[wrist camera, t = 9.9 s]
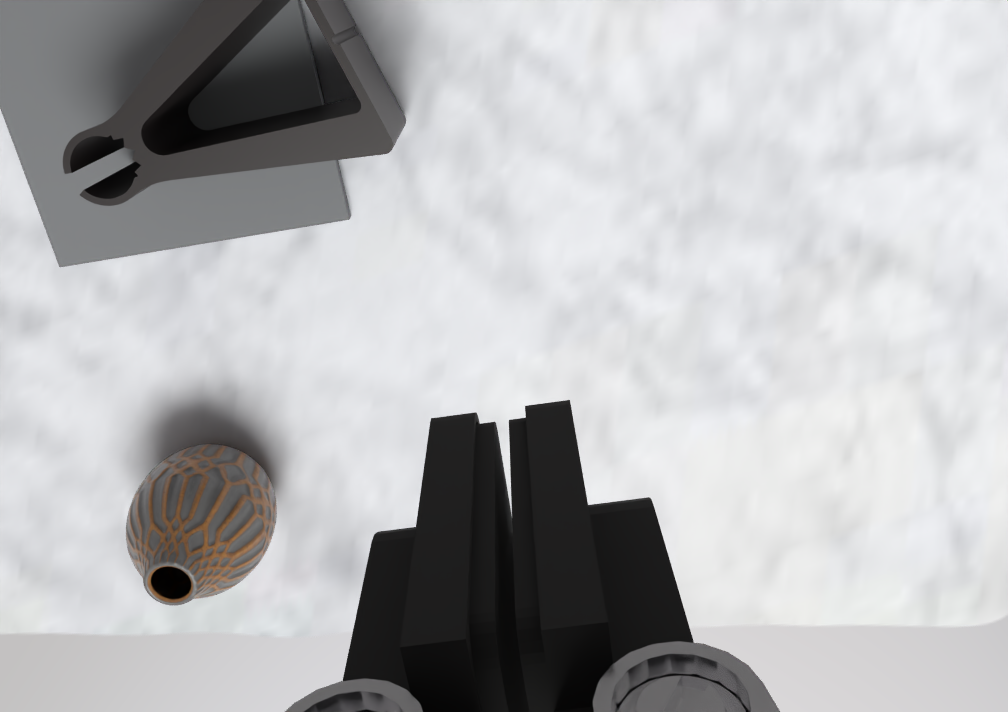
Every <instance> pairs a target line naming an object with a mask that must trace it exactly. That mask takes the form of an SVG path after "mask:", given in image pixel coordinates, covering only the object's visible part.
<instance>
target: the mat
mask: <svg viewBox="0 0 1008 712" xmlns="http://www.w3.org/2000/svg"><path fill="white" fill-rule="evenodd" d="M202 2H203V0H0V109H1V111H2V114H3V117H4V119H5V122H6V125H7V127H8V130H9V133H10V135H11V138H12V141H13V143H14V146H15V149H16V152H17V154H18V157H19V160H20V162H21V165H22V168H23V170H24V173H25V176H26V178H27V181H28V184H29V186H30V189H31V192H32V194H33V197H34V200H35V202H36V205H37V208H38V211H39V213H40V216H41V219H42V221H43V224H44V227H45V229H46V232H47V235H48V237H49V240H50V243H51V245H52V248H53V251H54V253H55V256H56V259H57V261H58V264H59V267H65V266H71V265H77V264H83V263H89V262H95V261H101V260H107V259H113V258H119V257H125V256H131V255H137V254H143V253H150V252H156V251H162V250H168V249H174V248H180V247H186V246H192V245H198V244H204V243H210V242H216V241H222V240H228V239H234V238H240V237H246V236H253V235H259V234H265V233H271V232H277V231H283V230H289V229H295V228H301V227H307V226H313V225H319V224H325V223H331V222H337V221H343V220H349V219H350V217H351V215H350V210H349V206H348V202H347V197H346V193H345V189H344V185H343V180H342V176H341V172H340V168H339V163H338V160H332V161H324V162H316V163H307V164H299V165H291V166H283V167H275V168H267V169H259V170H250V171H242V172H234V173H226V174H218V175H210V176H202V177H193V178H185V179H177V180H169V181H163V182H159V183H156V184H153V185H151V186H149V187H148V188H146V189H145V190H143V191H142V192H140V193H139V194H137V195H135V196H134V197H132V198H131V199H129V200H128V201H126V202H124V203H122V204H119V205H114V206H103V205H98V204H94V203H92V202H90V201H88V200H86V199H84V198H83V197H81V196H80V194H81V192H82V191H83V190H84V189H86V188H88V187H90V186H92V185H94V184H95V183H97V182H99V181H101V180H103V179H105V178H106V177H108V176H110V175H112V174H114V173H115V172H117V171H119V170H121V169H123V168H125V167H126V166H128V165H130V164H132V163H134V162H135V161H134V160H132V158H133V155H134V152H135V150H132V149H127V148H122V149H120V150H118V151H116V152H114V153H111V154H109V155H107V156H105V157H103V158H101V159H99V160H97V161H95V162H93V163H91V164H89V165H87V166H85V167H83V168H81V169H79V170H77V171H75V172H73V173H69V174H65V173H64V169H63V154H64V150H65V148H66V146H67V144H68V142H69V141H70V140H71V139H72V138H73V137H74V136H75V135H77V134H78V133H80V132H82V131H84V130H87V129H89V128H92V127H94V126H97V125H99V124H102V123H104V122H105V121H107V120H108V119H110V118H111V117H112V116H113V115H114V114H115V113H116V112H117V111H118V110H119V109H120V108H121V107H122V105H123V104H124V103H125V102H126V100H127V99H128V98H129V96H130V95H131V94H132V92H133V91H134V90H135V89H136V87H137V86H138V85H139V83H140V82H141V81H142V79H143V78H144V77H145V76H146V74H147V73H148V72H149V70H150V69H151V68H152V66H153V65H154V64H155V63H156V61H157V60H158V59H159V57H160V56H161V55H162V54H163V52H164V51H165V50H166V48H167V47H168V46H169V44H170V43H171V42H172V41H173V39H174V38H175V37H176V35H177V34H178V33H179V31H180V30H181V29H182V28H183V26H184V25H185V24H186V22H187V21H188V20H189V18H190V17H191V16H192V15H193V13H194V12H195V11H196V9H197V8H198V7H199V5H200V4H201V3H202ZM321 105H325V104H324V99H323V95H322V91H321V87H320V82H319V78H318V74H317V70H316V65H315V61H314V57H313V52H312V48H311V44H310V40H309V35H308V31H307V27H306V23H305V18H304V14H303V10H302V6H301V1H300V0H290V1H289V2H288V3H287V4H286V5H285V6H284V7H283V8H282V9H281V10H280V11H279V12H278V14H277V15H276V16H275V17H274V18H273V19H272V20H271V21H270V22H269V23H268V24H267V25H266V26H265V27H264V28H263V29H262V30H261V31H260V32H259V33H258V34H257V35H256V36H255V37H254V38H253V39H252V40H251V41H250V42H249V43H248V44H247V45H246V46H245V47H244V48H243V49H242V50H241V51H240V52H239V53H238V54H237V55H236V56H235V57H234V58H233V59H232V60H231V61H230V62H229V63H228V65H227V66H226V67H225V68H224V69H223V70H222V71H221V72H220V73H219V74H218V75H217V76H216V77H215V78H214V79H213V80H212V81H211V82H210V83H209V84H208V85H207V86H206V87H205V88H204V89H203V90H202V91H201V92H200V93H199V94H198V95H197V96H196V97H195V98H194V99H193V100H192V101H191V103H190V105H189V108H188V114H189V118H190V120H191V121H192V123H193V124H194V125H195V126H196V127H198V128H200V129H202V130H213V129H217V128H222V127H226V126H231V125H235V124H240V123H244V122H249V121H253V120H258V119H262V118H267V117H271V116H276V115H280V114H285V113H289V112H294V111H298V110H303V109H307V108H312V107H316V106H321Z"/></svg>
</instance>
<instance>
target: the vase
mask: <svg viewBox="0 0 1008 712" xmlns="http://www.w3.org/2000/svg"><path fill="white" fill-rule="evenodd" d="M276 514H277V511H276V499H275V494H274V490H273V487H272V484H271V482H270V480H269V478H268V476H267V474H266V473H265V471H264V470H263V468H262V467H261V466H260V465H259V464H258V463H257V462H256V461H255V460H254V459H252V458H251V457H250V456H248V455H247V454H245V453H243V452H241V451H239V450H237V449H234V448H231V447H228V446H224V445H217V444H204V445H197V446H193V447H189V448H186V449H183V450H181V451H179V452H177V453H175V454H173V455H171V456H169V457H168V458H166V459H165V460H163V461H162V462H161V463H159V464H158V465H157V466H156V467H155V468H154V469H153V470H152V471H151V472H150V473H149V475H148V476H147V477H146V478H145V480H144V481H143V482H142V484H141V485H140V487H139V488H138V490H137V492H136V493H135V495H134V498H133V500H132V503H131V506H130V509H129V513H128V517H127V525H126V541H127V548H128V552H129V555H130V557H131V560H132V562H133V564H134V566H135V567H136V569H137V571H138V572H139V573H140V575H141V576H142V577H143V583H144V586H145V589H146V591H147V592H148V594H149V595H150V596H151V597H152V598H154V599H155V600H156V601H158V602H160V603H163V604H167V605H181V604H185V603H187V602H189V601H191V600H192V599H196V598H204V597H209V596H213V595H217V594H219V593H222V592H224V591H226V590H228V589H230V588H232V587H233V586H235V585H236V584H238V583H239V582H240V581H242V580H243V579H244V578H245V577H246V576H247V575H248V574H249V573H250V572H251V571H252V570H253V569H254V568H255V567H256V566H257V565H258V563H259V562H260V560H261V559H262V557H263V556H264V554H265V553H266V551H267V548H268V546H269V544H270V542H271V539H272V535H273V532H274V528H275V523H276Z"/></svg>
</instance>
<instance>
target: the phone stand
mask: <svg viewBox="0 0 1008 712" xmlns="http://www.w3.org/2000/svg"><path fill="white" fill-rule="evenodd" d="M289 1H290V0H203V2H202V3H201V4H200V5H199V7H198V8H197V9H196V11H195V12H194V13H193V15H192V16H191V17H190V18H189V20H188V21H187V22H186V24H185V25H184V26H183V28H182V29H181V30H180V31H179V33H178V34H177V35H176V37H175V38H174V39H173V41H172V42H171V43H170V44H169V46H168V47H167V48H166V50H165V51H164V52H163V54H162V55H161V56H160V57H159V59H158V60H157V61H156V63H155V64H154V65H153V66H152V68H151V69H150V70H149V72H148V73H147V74H146V76H145V77H144V78H143V79H142V81H141V82H140V83H139V85H138V86H137V87H136V89H135V90H134V91H133V92H132V94H131V95H130V96H129V98H128V99H127V100H126V102H125V103H124V104H123V105H122V107H121V108H120V109H119V110H118V111H117V112H116V113H115V114H114V115H113V116H112V117H111V118H110V119H108V120H107V121H105V122H104V123H102V124H99V125H97V126H94V127H92V128H89V129H87V130H84V131H82V132H80V133H78V134H77V135H75V136H74V137H73V138H72V139H71V140H70V141H69V142H68V144H67V146H66V148H65V150H64V154H63V169H64V173H65V174H69V173H73V172H75V171H77V170H79V169H81V168H83V167H85V166H87V165H89V164H91V163H93V162H95V161H97V160H99V159H101V158H103V157H105V156H107V155H109V154H111V153H114V152H116V151H118V150H120V149H122V148H127V149H132V150H135V152H134V155H133V158H132V160H134V161H135V162H134V163H132V164H130V165H128V166H126V167H125V168H123V169H121V170H119V171H117V172H115V173H114V174H112V175H110V176H108V177H106V178H105V179H103V180H101V181H99V182H97V183H95V184H94V185H92V186H90V187H88V188H86V189H84V190H83V191H82V192H81V194H80V196H81V197H83V198H84V199H86V200H88V201H90V202H92V203H94V204H98V205H103V206H114V205H119V204H122V203H124V202H126V201H128V200H129V199H131V198H132V197H134V196H135V195H137V194H139V193H140V192H142V191H143V190H145V189H146V188H148V187H149V186H151V185H153V184H156V183H159V182H163V181H169V180H177V179H185V178H193V177H202V176H210V175H218V174H226V173H234V172H242V171H250V170H259V169H267V168H275V167H283V166H291V165H299V164H307V163H316V162H324V161H332V160H340V159H348V158H356V157H364V156H373V155H381V154H387V153H389V152H390V151H391V150H392V148H393V147H394V145H395V143H396V141H397V139H398V137H399V135H400V133H401V131H402V129H403V128H404V126H405V124H406V118H405V116H404V114H403V112H402V110H401V108H400V106H399V105H398V103H397V101H396V99H395V97H394V95H393V93H392V91H391V90H390V88H389V86H388V84H387V82H386V80H385V78H384V76H383V75H382V73H381V71H380V69H379V67H378V65H377V63H376V61H375V59H374V58H373V56H372V54H371V52H370V50H369V48H368V46H367V44H366V43H365V41H364V39H363V37H362V35H361V34H357V33H355V31H354V27H355V26H356V24H355V22H354V20H353V18H352V16H351V14H350V12H349V11H348V9H347V7H346V5H345V3H344V1H343V0H305V2H306V4H307V6H308V7H309V9H310V11H311V13H312V15H313V17H314V18H315V20H316V22H317V24H318V26H319V28H320V29H321V31H322V33H323V35H324V37H325V39H326V40H327V42H328V44H329V46H330V48H331V49H332V51H333V53H334V55H335V57H336V59H337V60H338V62H339V64H340V66H341V68H342V70H343V71H344V73H345V75H346V77H347V79H348V81H349V82H350V84H351V86H352V88H353V90H354V91H355V93H356V95H357V98H352V99H348V100H343V101H339V102H334V103H330V104H325V105H321V106H316V107H312V108H307V109H303V110H298V111H294V112H289V113H285V114H280V115H276V116H271V117H267V118H262V119H258V120H253V121H249V122H244V123H240V124H235V125H231V126H226V127H222V128H217V129H213V130H202V129H200V128H198V127H196V126H195V125H194V124H193V123H192V121H191V120H190V118H189V114H188V108H189V105H190V103H191V101H192V100H193V99H194V98H195V97H196V96H197V95H198V94H199V93H200V92H201V91H202V90H203V89H204V88H205V87H206V86H207V85H208V84H209V83H210V82H211V81H212V80H213V79H214V78H215V77H216V76H217V75H218V74H219V73H220V72H221V71H222V70H223V69H224V68H225V67H226V66H227V65H228V63H229V62H230V61H231V60H232V59H233V58H234V57H235V56H236V55H237V54H238V53H239V52H240V51H241V50H242V49H243V48H244V47H245V46H246V45H247V44H248V43H249V42H250V41H251V40H252V39H253V38H254V37H255V36H256V35H257V34H258V33H259V32H260V31H261V30H262V29H263V28H264V27H265V26H266V25H267V24H268V23H269V22H270V21H271V20H272V19H273V18H274V17H275V16H276V15H277V14H278V12H279V11H280V10H281V9H282V8H283V7H284V6H285V5H286V4H287V3H288V2H289Z"/></svg>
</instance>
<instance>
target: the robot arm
mask: <svg viewBox="0 0 1008 712" xmlns="http://www.w3.org/2000/svg"><path fill="white" fill-rule="evenodd" d="M525 411H526V418H521V419H513V420H509V436H510V466H511V496H512V516H511V510H510V504H509V498H508V492H507V486H506V479H505V473H504V467H503V461H502V455H501V449H500V443H499V437H498V431H497V427H496V423H495V422H490V423H483V424H480V423H479V419H478V415H477V413H469V414H461V415H454V416H446V417H439V418H431V422H430V429H429V436H428V443H427V451H426V458H425V465H424V473H423V480H422V487H421V495H420V502H419V509H418V517H417V524H416V527H413V528H405V529H397V530H389V531H381V532H377V533H376V534H374V537H373V540H372V544H371V548H370V553H369V558H368V563H367V567H366V572H365V577H364V582H363V587H362V591H361V596H360V601H359V606H358V610H357V615H356V620H355V625H354V629H353V634H352V639H351V644H350V649H349V653H348V658H347V663H346V668H345V672H344V677H343V681H341V682H338V683H335V684H332V685H329V686H327V687H324V688H321V689H318V690H316V691H314V692H312V693H311V694H309V695H307V696H306V697H304V698H302V699H301V700H299V701H297V702H296V703H294V704H293V705H292V706H291V707H290V708H288V709H287V711H285V712H780V711H779V709H778V708H777V706H776V704H775V702H774V701H773V699H772V697H771V696H770V694H769V692H768V690H767V689H766V687H765V685H764V684H763V682H762V681H761V680H760V679H759V678H758V676H757V675H756V674H755V673H754V672H753V670H752V669H751V668H750V667H749V666H748V665H747V664H745V663H744V662H742V661H741V660H739V659H738V658H736V657H734V656H733V655H731V654H730V653H728V652H726V651H723V650H720V649H717V648H714V647H711V646H708V645H705V644H700V643H694V642H693V638H692V635H691V632H690V628H689V625H688V621H687V618H686V615H685V611H684V608H683V604H682V601H681V598H680V594H679V591H678V587H677V584H676V580H675V577H674V574H673V570H672V567H671V563H670V560H669V557H668V553H667V550H666V546H665V543H664V540H663V536H662V533H661V529H660V526H659V522H658V519H657V516H656V512H655V509H654V506H653V503H652V500H651V499H650V498H641V499H633V500H625V501H617V502H610V503H602V504H594V505H588V503H587V497H586V491H585V486H584V480H583V474H582V468H581V462H580V457H579V451H578V445H577V439H576V434H575V428H574V422H573V416H572V410H571V405H570V400H567V401H559V402H552V403H544V404H537V405H529V406H525Z"/></svg>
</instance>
